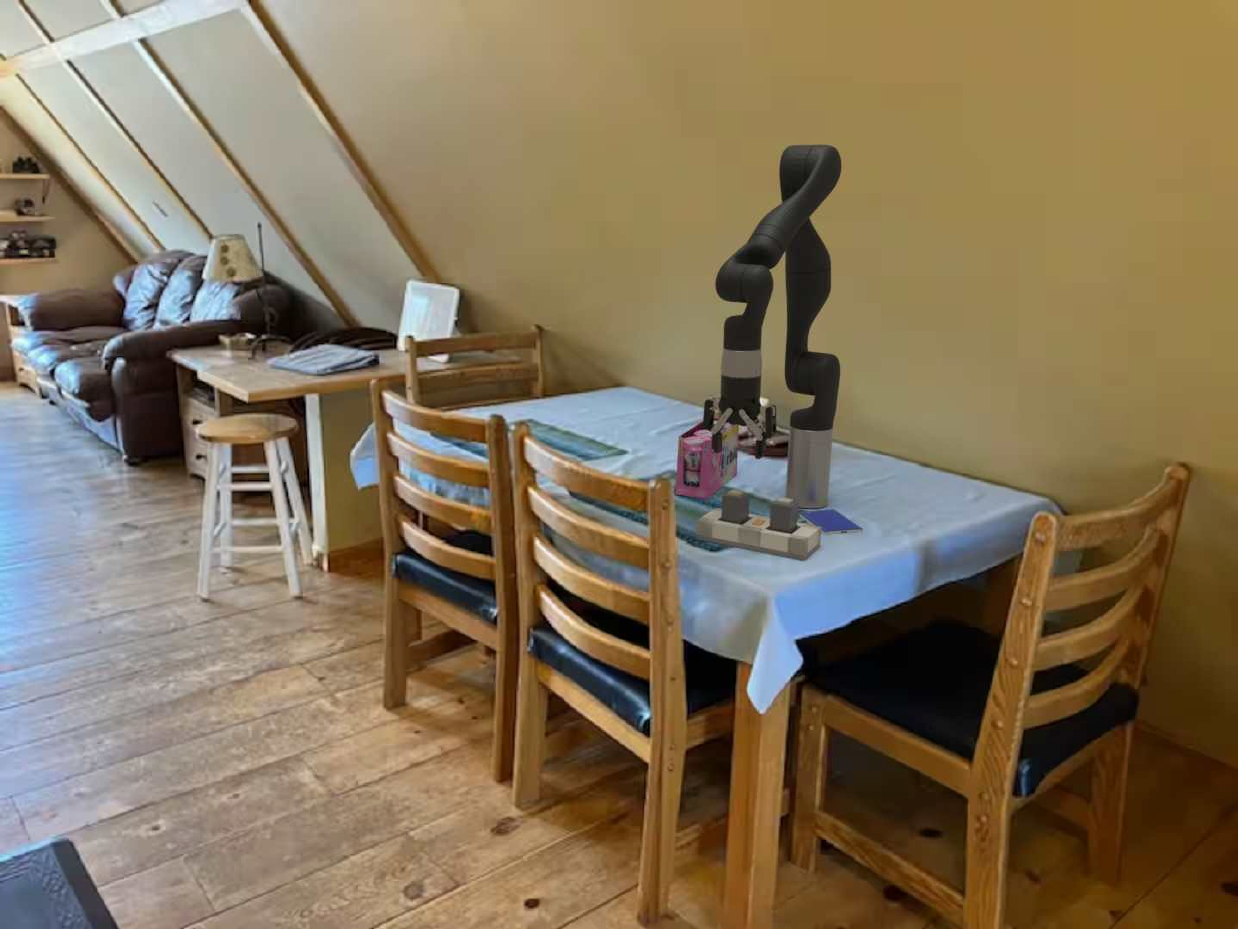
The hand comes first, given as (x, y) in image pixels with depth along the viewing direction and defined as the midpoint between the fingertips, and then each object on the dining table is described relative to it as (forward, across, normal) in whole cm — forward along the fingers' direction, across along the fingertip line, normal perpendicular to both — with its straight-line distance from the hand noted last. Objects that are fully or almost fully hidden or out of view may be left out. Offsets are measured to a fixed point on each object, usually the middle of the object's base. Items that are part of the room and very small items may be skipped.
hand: (738, 455), depth 191 cm
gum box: (+18, +21, -31) cm, 41 cm away
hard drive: (+18, -13, -18) cm, 29 cm away
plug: (+16, 0, 0) cm, 16 cm away
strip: (+17, -5, 0) cm, 18 cm away
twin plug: (+16, -10, 0) cm, 19 cm away
